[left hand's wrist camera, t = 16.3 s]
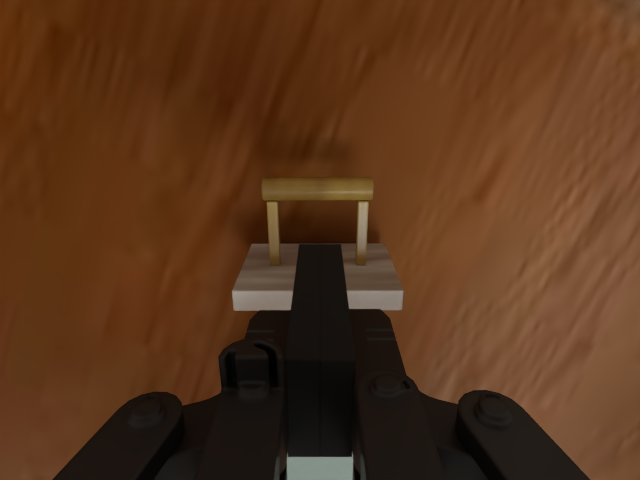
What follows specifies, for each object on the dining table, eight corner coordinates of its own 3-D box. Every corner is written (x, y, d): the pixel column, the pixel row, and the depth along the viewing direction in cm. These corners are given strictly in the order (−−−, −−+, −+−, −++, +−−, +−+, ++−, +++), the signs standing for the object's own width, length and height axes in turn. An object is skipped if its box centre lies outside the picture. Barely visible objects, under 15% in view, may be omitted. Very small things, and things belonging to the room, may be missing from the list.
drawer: (246, 166, 25) (222, 193, 19) (389, 165, 25) (411, 193, 19) (266, 466, 35) (254, 550, 28) (372, 466, 35) (383, 550, 28)
